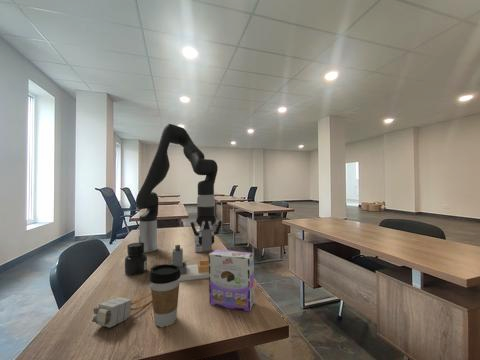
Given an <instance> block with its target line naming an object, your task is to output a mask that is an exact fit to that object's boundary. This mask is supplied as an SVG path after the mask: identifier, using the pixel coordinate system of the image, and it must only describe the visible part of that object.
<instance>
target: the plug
mask: <svg viewBox="0 0 480 360" xmlns="http://www.w3.org/2000/svg"><path fill="white" fill-rule="evenodd" d="M212 247H213V245H212V231H211V229H208V228H206V229H203V230H202V251H203V252H211V251H212V250H213V248H212ZM212 252H213V251H212Z"/></svg>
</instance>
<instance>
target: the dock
mask: <svg viewBox="0 0 480 360" xmlns="http://www.w3.org/2000/svg"><path fill="white" fill-rule="evenodd" d="M174 246H175V248H173V249H172V255H171V256H172V262H170V263H169V265H176V266H178V267H179V269H180V273H181V274H180V275H181V276H180V278H179V282H182V281H192V280H202V279H203V280H204V279H209V259H203V260H197V263H196V264H189V265H188V263H187V261H184V250H183V248H182V247H181V244H175V245H174Z"/></svg>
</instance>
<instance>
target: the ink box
mask: <svg viewBox="0 0 480 360" xmlns="http://www.w3.org/2000/svg"><path fill="white" fill-rule="evenodd" d="M199 230H200V229H196V231H197V232H198V233H199ZM193 238H194V241H193V242H194V243H193V246H194V253H201V252H204V251H202V245H200V244H199V237H198V236H195V235H194V236H193Z"/></svg>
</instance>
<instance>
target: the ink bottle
mask: <svg viewBox="0 0 480 360" xmlns="http://www.w3.org/2000/svg"><path fill="white" fill-rule="evenodd" d="M126 247H127V248H126V249H127V251H126V252H127V256H125V257H124V273H125V275H127V276H132V277H133V276H139V275H142V274H144V273H146V272H147V271H148V256H147V254H146V253H144V243H141V242H139V241H138V242H131V243H129V244H127V245H126Z"/></svg>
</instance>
